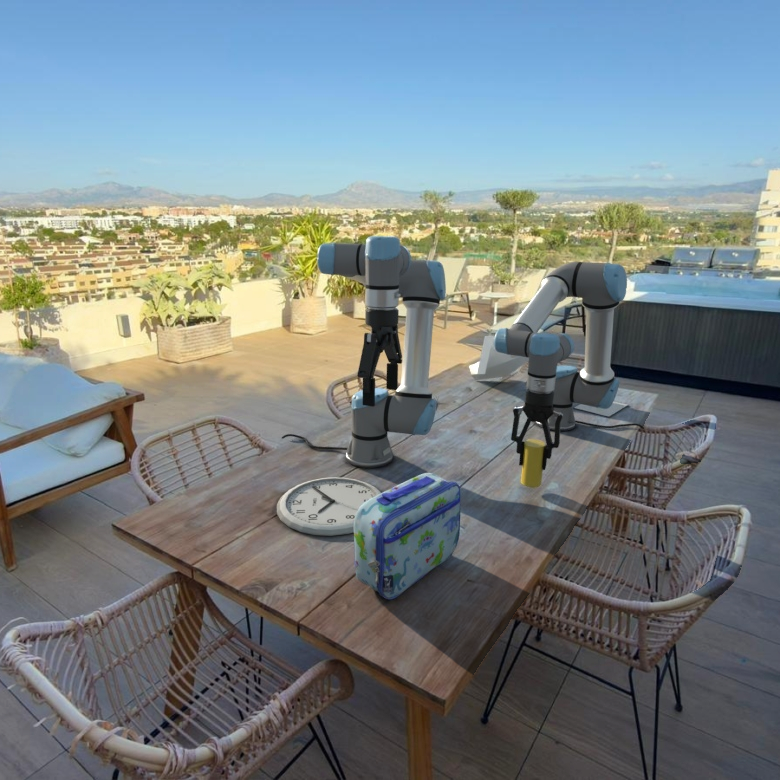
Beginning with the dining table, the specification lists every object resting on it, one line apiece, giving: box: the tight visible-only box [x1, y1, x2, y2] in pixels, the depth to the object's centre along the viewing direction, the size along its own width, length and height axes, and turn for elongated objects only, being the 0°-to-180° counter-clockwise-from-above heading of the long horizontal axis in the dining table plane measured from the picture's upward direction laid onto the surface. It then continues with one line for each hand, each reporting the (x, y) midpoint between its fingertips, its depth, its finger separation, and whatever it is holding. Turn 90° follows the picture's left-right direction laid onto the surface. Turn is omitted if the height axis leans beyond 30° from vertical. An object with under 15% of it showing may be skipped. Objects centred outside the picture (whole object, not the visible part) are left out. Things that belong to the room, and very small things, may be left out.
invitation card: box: [573, 400, 629, 418], centre depth 226 cm, size 21×1×15 cm
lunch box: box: [353, 472, 462, 600], centre depth 112 cm, size 26×11×21 cm, turn 134°
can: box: [520, 438, 546, 489], centre depth 151 cm, size 6×6×13 cm
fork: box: [432, 395, 439, 402], centre depth 223 cm, size 3×16×2 cm, turn 160°
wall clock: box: [276, 476, 383, 537], centre depth 142 cm, size 30×2×30 cm
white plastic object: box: [468, 308, 529, 381], centre depth 254 cm, size 37×45×31 cm
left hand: (380, 397), depth 124 cm, fingers open, 13 cm apart
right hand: (532, 465), depth 151 cm, fingers closed on can, 6 cm apart
